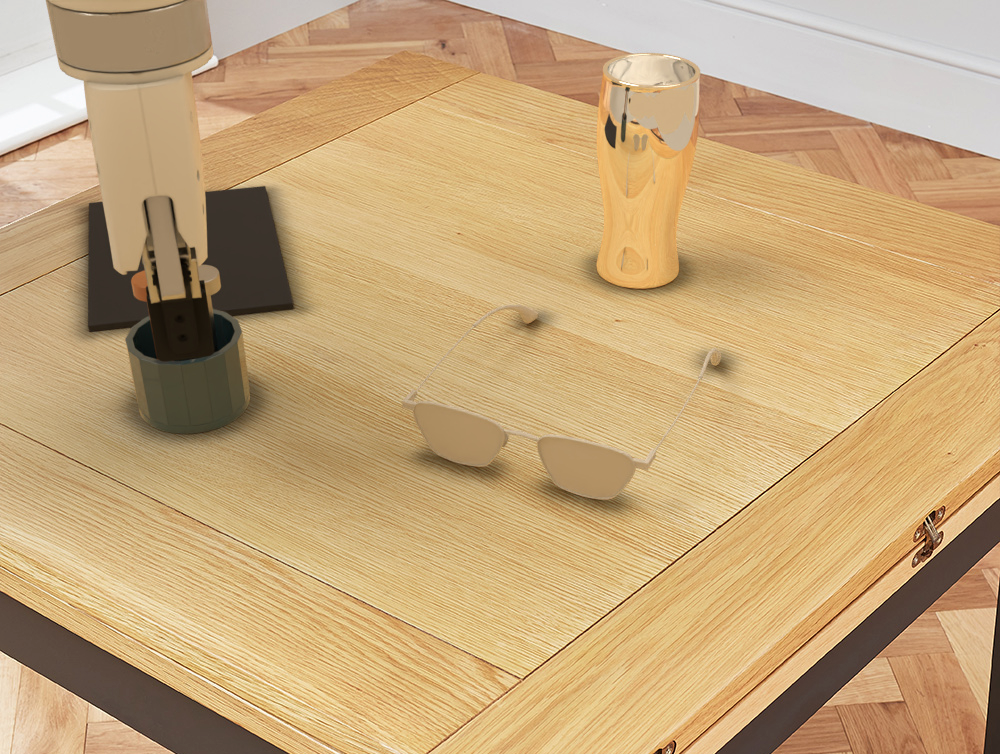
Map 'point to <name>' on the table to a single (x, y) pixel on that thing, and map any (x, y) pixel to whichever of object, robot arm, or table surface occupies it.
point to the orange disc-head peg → (140, 288)
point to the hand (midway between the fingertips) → (186, 351)
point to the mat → (230, 248)
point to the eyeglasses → (562, 456)
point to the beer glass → (644, 164)
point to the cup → (190, 381)
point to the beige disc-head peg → (210, 292)
